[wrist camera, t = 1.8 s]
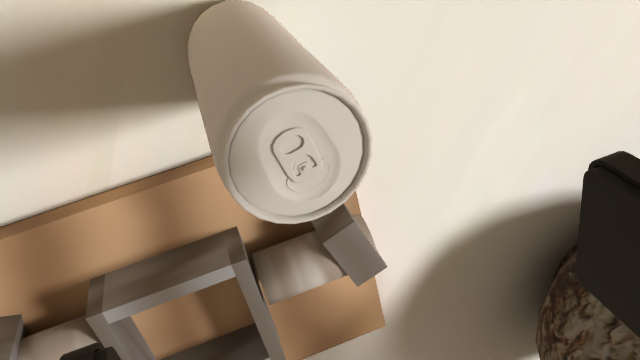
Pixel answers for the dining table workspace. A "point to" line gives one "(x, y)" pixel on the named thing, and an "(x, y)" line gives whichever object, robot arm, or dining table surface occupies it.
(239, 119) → the beverage can
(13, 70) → the dining table surface
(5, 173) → the dining table surface
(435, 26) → the dining table surface
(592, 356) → the vase
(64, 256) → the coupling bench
